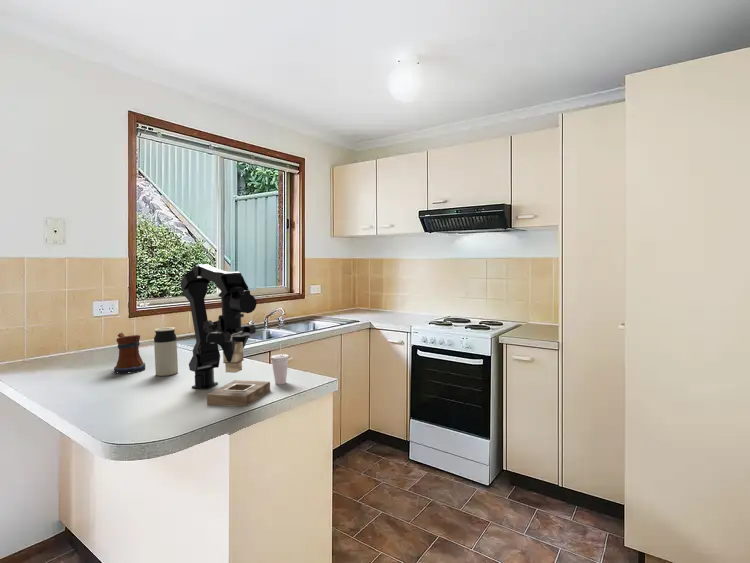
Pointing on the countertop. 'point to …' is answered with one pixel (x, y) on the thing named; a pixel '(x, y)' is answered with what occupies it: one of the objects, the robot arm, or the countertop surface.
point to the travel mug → (165, 351)
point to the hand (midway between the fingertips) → (233, 360)
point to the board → (238, 393)
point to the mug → (128, 354)
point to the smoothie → (280, 367)
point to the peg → (235, 359)
